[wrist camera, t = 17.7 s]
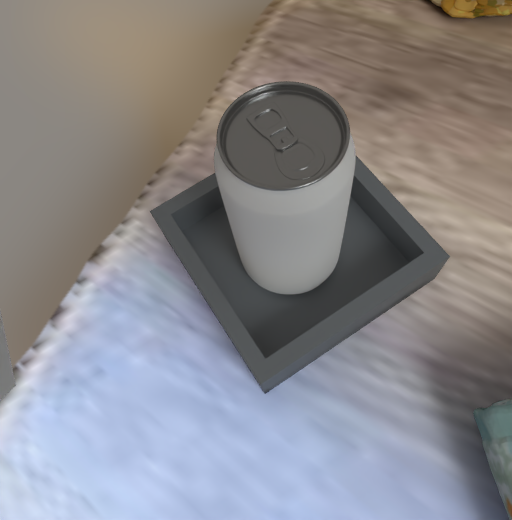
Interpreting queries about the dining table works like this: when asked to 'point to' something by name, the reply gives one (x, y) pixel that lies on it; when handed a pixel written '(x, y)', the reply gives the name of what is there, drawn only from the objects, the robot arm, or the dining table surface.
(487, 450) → the towel
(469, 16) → the frog figurine
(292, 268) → the can
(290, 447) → the dining table surface
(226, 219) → the tray
